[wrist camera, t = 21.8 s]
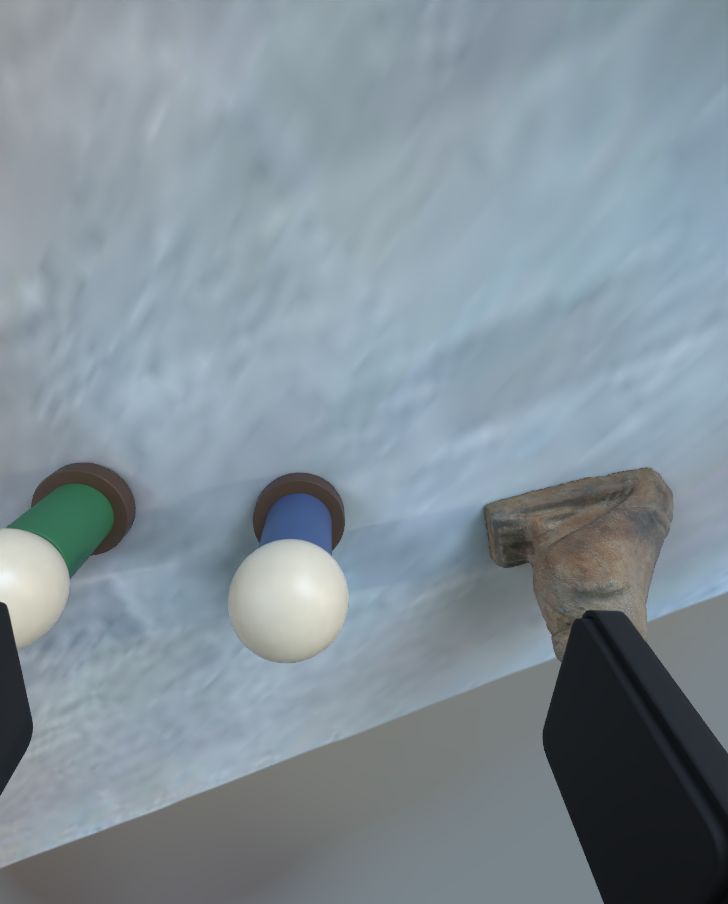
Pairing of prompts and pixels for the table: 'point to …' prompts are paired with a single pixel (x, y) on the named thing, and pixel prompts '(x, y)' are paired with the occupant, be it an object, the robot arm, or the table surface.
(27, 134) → the table surface
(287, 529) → the blue doll
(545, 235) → the table surface
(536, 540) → the worn brown figurine
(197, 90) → the table surface
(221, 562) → the table surface
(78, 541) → the green doll
